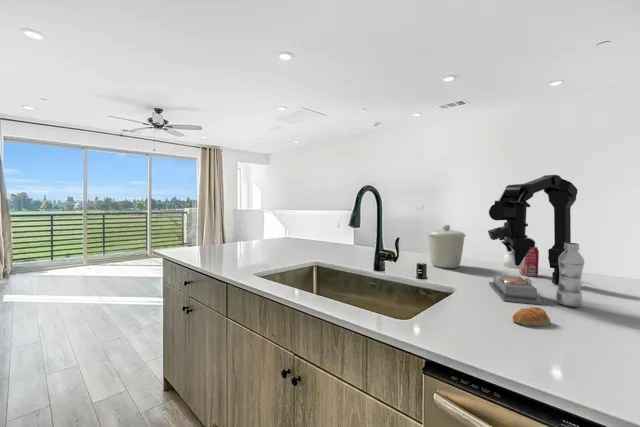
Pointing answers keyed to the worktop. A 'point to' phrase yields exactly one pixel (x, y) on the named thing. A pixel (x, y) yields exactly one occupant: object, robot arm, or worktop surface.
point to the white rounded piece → (512, 261)
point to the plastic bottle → (570, 276)
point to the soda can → (531, 263)
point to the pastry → (531, 317)
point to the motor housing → (515, 289)
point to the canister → (445, 247)
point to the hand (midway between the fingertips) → (514, 263)
